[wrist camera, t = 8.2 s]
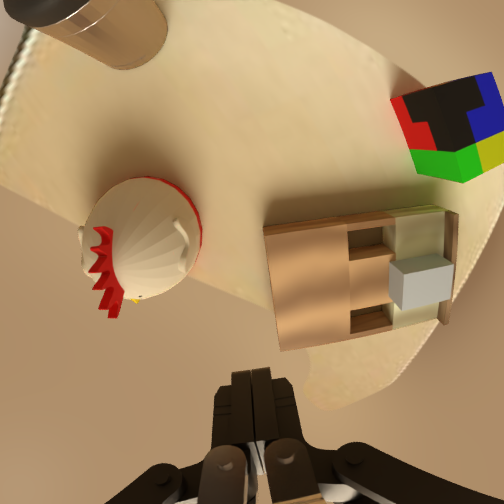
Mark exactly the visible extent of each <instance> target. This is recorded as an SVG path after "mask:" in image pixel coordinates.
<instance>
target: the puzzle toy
mask: <svg viewBox="0 0 504 504" xmlns="http://www.w3.org/2000/svg"><path fill="white" fill-rule="evenodd" d="M390 101H391V103H392V106H393V108H394V110H395V113H396V115H397V118H398V120H399V123H400V125H401V128H402V131H403V133H404V136H405V139H406V141H407V144H408V147H409V150H410V153H411V156H412V159H413V162H414V165H415V168H416V171H417V174H422V175H427V176H432V177H437V178H441V179H446V180H450V181H455V182H459V183H465V182H467V181H469V180H471V179H473V178H475V177H477V176H479V175H481V174H483V173H485V172H487V171H489V170H491V169H492V168H494V167H496V166H498V165H500V164H502V163H504V106H503V103H502V99H501V96H500V94H499V90H498V88H497V85H496V82H495V79H494V77H493V74H492V72H488V73H483V74H478V75H474V76H469V77H465V78H461V79H457V80H453V81H448V82H444V83H441V84H438V85H434V86H431V87H427V88H424V89H421V90H418V91H414V92H411V93H408V94H405V95H402V96H399V97H396V98H393V99H390Z"/></svg>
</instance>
